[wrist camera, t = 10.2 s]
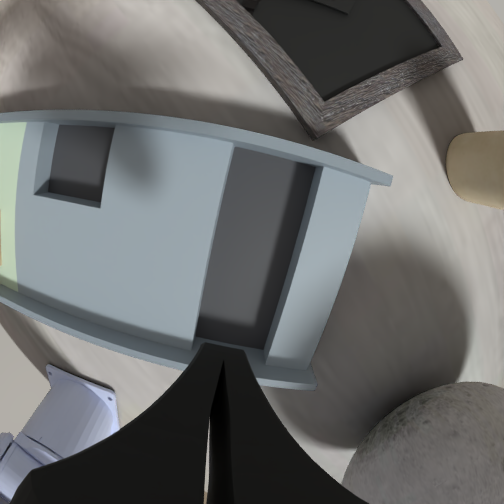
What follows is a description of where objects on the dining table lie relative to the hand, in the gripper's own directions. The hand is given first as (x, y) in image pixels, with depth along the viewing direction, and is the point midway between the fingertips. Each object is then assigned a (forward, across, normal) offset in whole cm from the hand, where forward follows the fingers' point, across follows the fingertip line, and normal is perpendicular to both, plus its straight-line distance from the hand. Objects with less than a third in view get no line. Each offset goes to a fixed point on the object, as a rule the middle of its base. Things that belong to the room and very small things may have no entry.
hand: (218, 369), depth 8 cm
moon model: (+10, -22, +13) cm, 27 cm away
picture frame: (+11, 0, -22) cm, 25 cm away
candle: (+10, -16, -12) cm, 22 cm away
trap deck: (+10, +8, -1) cm, 13 cm away
